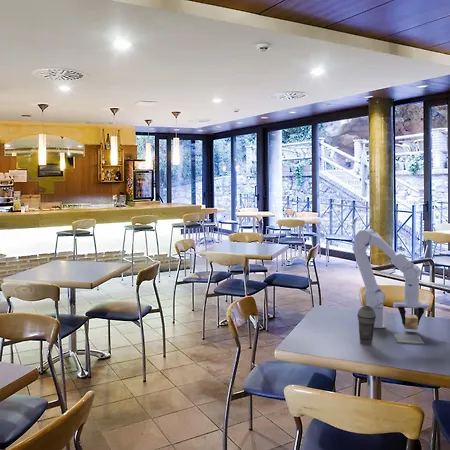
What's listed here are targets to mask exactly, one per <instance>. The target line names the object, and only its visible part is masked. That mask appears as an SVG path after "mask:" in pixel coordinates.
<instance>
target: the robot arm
mask: <svg viewBox="0 0 450 450" xmlns="http://www.w3.org/2000/svg"><path fill="white" fill-rule="evenodd" d="M369 246H375V247H377V248H379V249H380V251H382V252H383V253H384V254H386V255H387V256H388V257H389V258H390V263H391V264H392V265H393V266H395V267H396V268H397V269H398V270H399V271H400V272H401V273H402V275H403V277H404V278H405V279H404V292H403V294H404V295H403V296H404V297H403V298H404V299H403V301H401V302H392V307H393V309H394V308H395V309H396V308H397V309H398V312H399V315H400V317H401V323H402V326H403V325H405V315H406V312H407V311H406V309H415V315H416V316H417V318H418V326H419V324H420V322H421V319H422V317H423V315H424V314H425V310H430V304H429V303H421V302H419V293H420V291H419V290H420V277H421V274H422V270H421V268H420V267H419V266H418V265H417V264H414V262H411V261H410V260H409V259H408V258H407V257H406V254H404V253H403V254H402V252H396V251H395V249H393V248H392V247H391V245H390V244H389V243H387V241H385V240H384V239H383V238H382V236H381V235H380V234H379V233H378V232H376V231H375V230H374V229H373V228H366V229H361V230H359V231H357V233H356V234H355V236H354V243H353V248H352V249H353V254H354V257H355V260H356V263H357V267H358V268H359V272H360V276H361V278H362V282H363V284H364V287H365V289H364V295H366V306H370V307H372V308H373V309H374V311H375V314H376V319H375V322H374V329H375V328H377V329H385V328H386V327H385V325H384V304H383V303H384V302H385V300H386V295H385V292H383V291H382V289H381V286H380V285H379V284H378V283H377V280H376V277H375V275H374V271H373V268H372V266H371V263H370V259H369V256H368V253H367V249H369ZM363 306H364V305H362V306H361V307H363Z"/></svg>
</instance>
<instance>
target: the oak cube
mask: <svg viewBox="0 0 450 450" xmlns="http://www.w3.org/2000/svg"><path fill="white" fill-rule="evenodd" d="M402 326H403V328H404V329H405V330H414V331H417V330H418V329H419V325H418V318H417V316H416V314H405V325H403V324H402Z"/></svg>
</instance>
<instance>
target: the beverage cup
mask: <svg viewBox="0 0 450 450" xmlns="http://www.w3.org/2000/svg"><path fill="white" fill-rule="evenodd" d="M362 306H363V307H362ZM362 306H361V307H360V308H359V309H358V310H357V311H358V312H357V321H358V333H359V336H358V337H359V344H360V345H361V346H364V347H370V346H372V345H373V337H374V332H375V331H374V329H375V328H374V322H375V319H376V314H375V311H374V309H373V308H372V307H370V306H367V304H366V295H365V294H364V305H362Z"/></svg>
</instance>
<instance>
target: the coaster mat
mask: <svg viewBox="0 0 450 450" xmlns="http://www.w3.org/2000/svg"><path fill="white" fill-rule="evenodd" d="M393 336H394V339H395V340H396V343H397V344H406V345H407V344H408V345H422V346H423V345H425V342H424V340H423V339H422V338H421V337H420V335H418V334H405V333H404V334H403V333H401V334H400V333H393Z"/></svg>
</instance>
